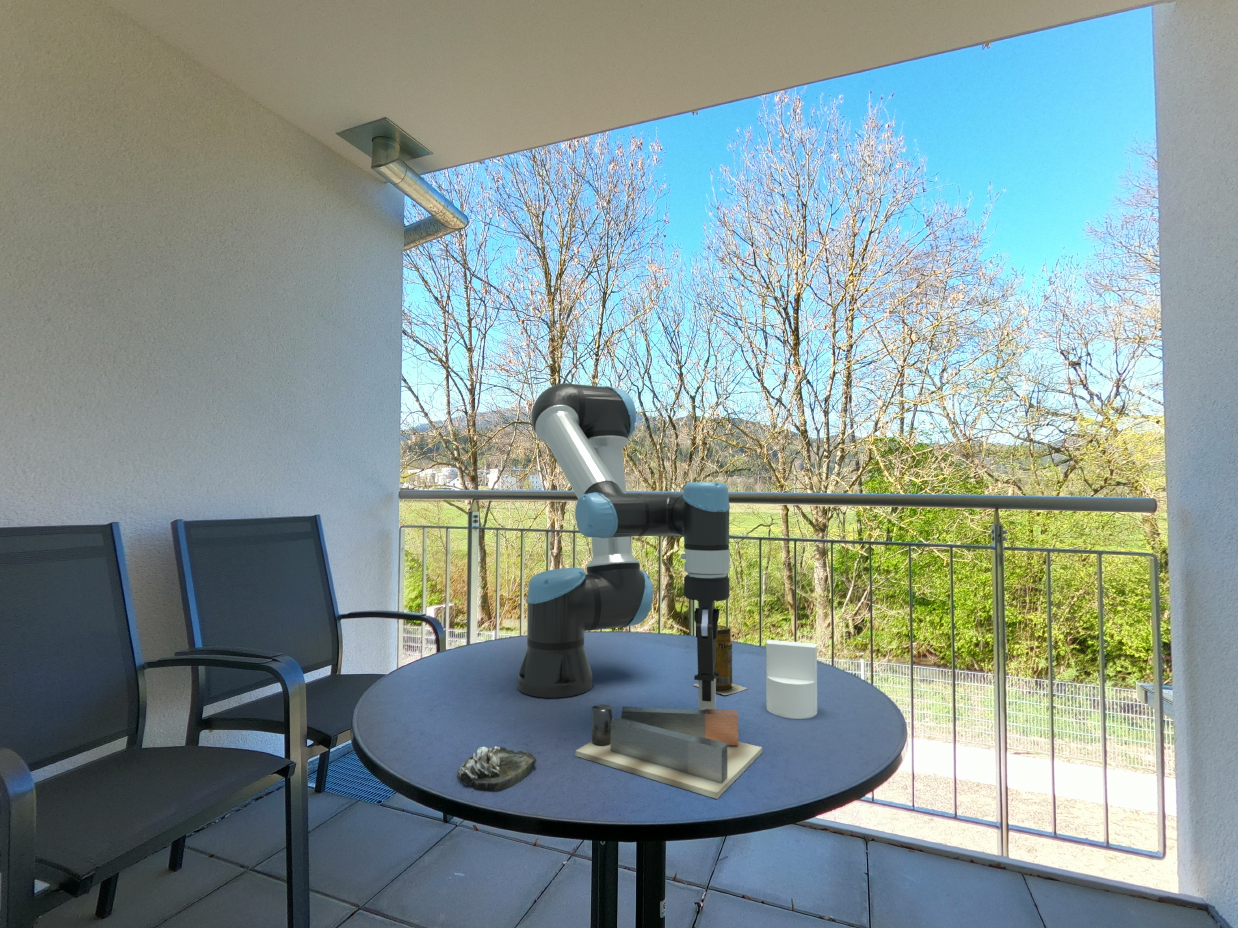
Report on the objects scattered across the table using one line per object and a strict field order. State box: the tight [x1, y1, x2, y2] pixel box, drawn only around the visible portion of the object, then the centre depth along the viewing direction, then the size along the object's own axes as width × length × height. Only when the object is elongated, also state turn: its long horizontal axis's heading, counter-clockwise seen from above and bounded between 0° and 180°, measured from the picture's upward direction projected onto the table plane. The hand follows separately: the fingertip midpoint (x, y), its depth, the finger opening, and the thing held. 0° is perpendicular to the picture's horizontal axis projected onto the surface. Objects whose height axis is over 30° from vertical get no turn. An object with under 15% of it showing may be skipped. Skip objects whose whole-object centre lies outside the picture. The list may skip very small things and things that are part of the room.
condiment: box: [693, 624, 748, 696], centre depth 124 cm, size 7×8×12 cm
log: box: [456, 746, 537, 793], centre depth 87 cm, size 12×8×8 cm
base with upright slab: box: [765, 639, 818, 720], centre depth 112 cm, size 9×9×12 cm
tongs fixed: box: [591, 703, 727, 784], centre depth 89 cm, size 23×4×5 cm, turn 57°
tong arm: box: [620, 706, 739, 745], centre depth 95 cm, size 18×2×5 cm, turn 85°
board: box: [575, 740, 763, 800], centre depth 92 cm, size 23×17×1 cm
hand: (707, 718), depth 100 cm, fingers closed
